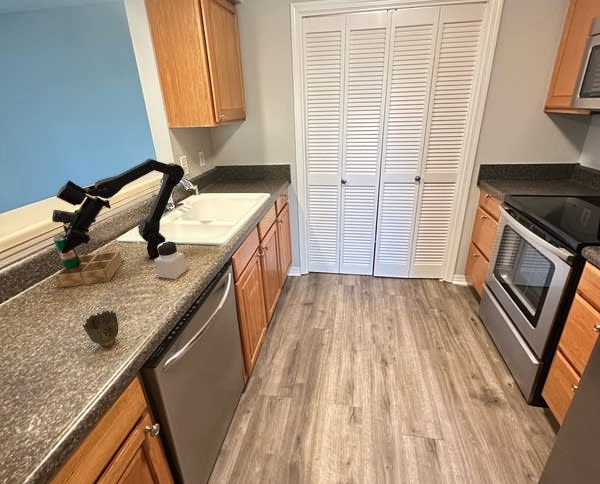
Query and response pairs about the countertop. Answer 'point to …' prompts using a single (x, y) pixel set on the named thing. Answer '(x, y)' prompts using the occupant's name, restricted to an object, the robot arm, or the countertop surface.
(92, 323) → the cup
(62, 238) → the soda can
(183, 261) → the medicine bottle
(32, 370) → the countertop surface
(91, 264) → the grid
